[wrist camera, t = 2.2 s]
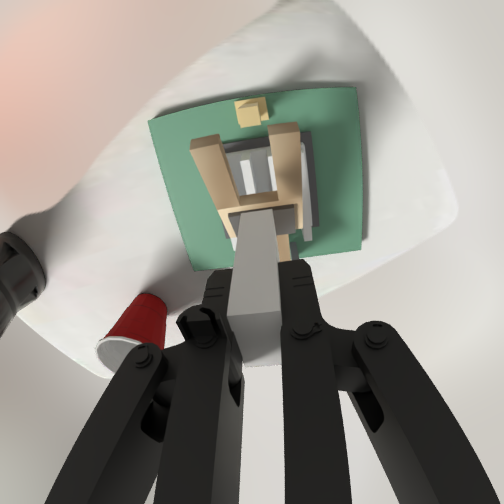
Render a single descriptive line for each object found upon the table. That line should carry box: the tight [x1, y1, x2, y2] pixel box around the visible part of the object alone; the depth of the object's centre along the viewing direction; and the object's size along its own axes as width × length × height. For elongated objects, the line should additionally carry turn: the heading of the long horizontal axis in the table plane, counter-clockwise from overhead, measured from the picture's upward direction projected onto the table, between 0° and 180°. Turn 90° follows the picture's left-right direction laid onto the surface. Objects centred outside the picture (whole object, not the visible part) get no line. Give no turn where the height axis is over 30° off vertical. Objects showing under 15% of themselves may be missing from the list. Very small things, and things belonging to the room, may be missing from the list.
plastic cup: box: [95, 294, 167, 374], centre depth 37 cm, size 11×11×12 cm
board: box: [148, 87, 363, 271], centre depth 27 cm, size 22×20×9 cm
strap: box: [189, 122, 303, 262], centre depth 21 cm, size 5×20×1 cm, turn 10°
